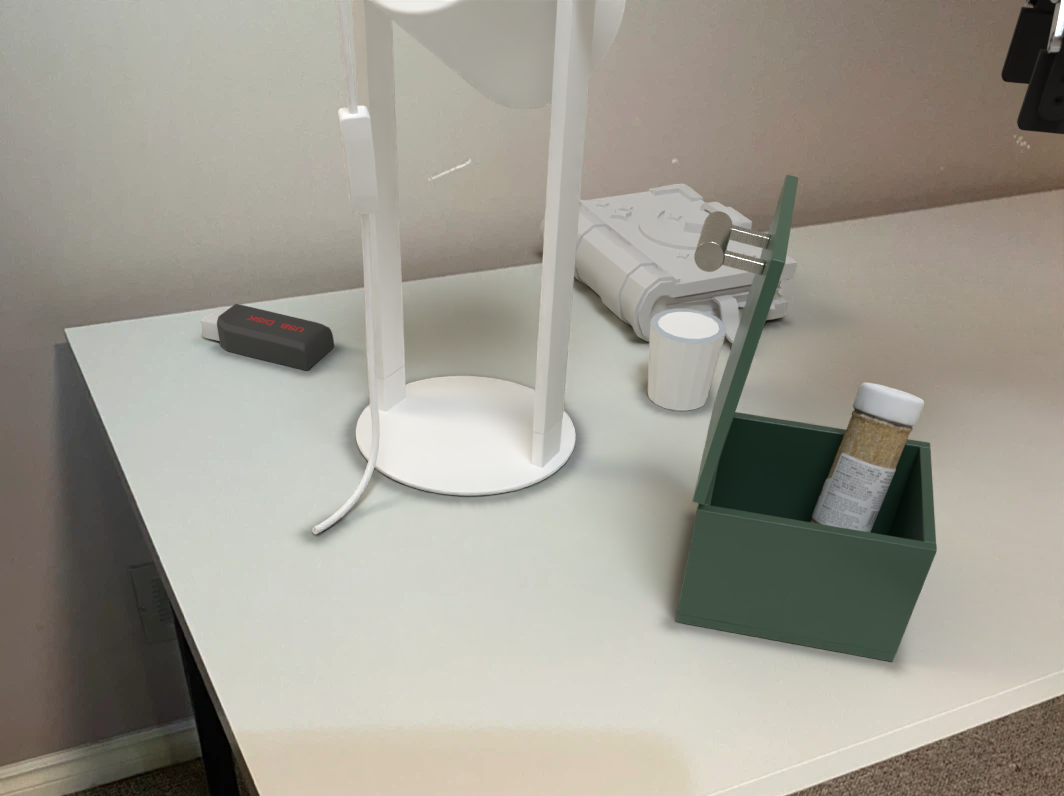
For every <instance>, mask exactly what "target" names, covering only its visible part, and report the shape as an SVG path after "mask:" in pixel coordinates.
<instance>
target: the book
mask: <svg viewBox="0 0 1064 796" xmlns="http://www.w3.org/2000/svg"><path fill="white" fill-rule="evenodd" d="M716 211H721V212H724V213H726V214H727V215H729V217H730V218H731V220H732V225H735V226H739V227H743V228H747V229H751V230H752V228H753V227H752V226H753V221H752V220H750V219H749V218H748V217H746V216H745V215H743V214H742V213H740V212H739V211H737V210H735V209H734V208H733V207H731V206H725V205H724V204H723V203H720V202H718V201H709V202H705V201H704V197H703V196H702V195H700V194H699V193H698V192H696V190H694V189H693V188H692V187H690V186H688V185H687V184H685V183H673V184H667V185H662V186H657V187H650V188H648V190H647V191H642V192H641V191H640V192H633V193H626V194H620V195H612V196H605V197H600V198H599V197H597V198H592V199H584V200H583V199H582V198H581V197H580V205H579V218H578V231H577V243H576V256H575V269H574V279H576V280H577V281H579V282H580V283H582V284H584V285H586V286H588V287H589V288H590V289H591V290H592V291H593V292H594V293H596V294H597V295H598V296H599V297H600V299H601V303H602V304H603V305H604V306H606V307H607V308H608V309H609V310H610V311H611V312H612V313H613V314H615V316H617V317H618V318H619V319H620V320H621V321H622V322H624V323H626V324H628V325H629V326H631V327H632V329H633V332H634V334H635V335H636V336H638V338H640V339H641V340H644V341H645V342H647V343H648V344H649V343H650V321H651V320H652V318H653V316H654V315H656V314H658V313H660V312H662V311H665V310H670V309H693V310H698V311H703V312H706V313H709V314H711V315H713V316H716V317H717V318H719V319H720V320H721V321H722V322H723V323H724V324H725V327H726V329H727V331H726V334H725V338H726V339H727V340H728V341H729V342H730V343H731V345H733V341H734V338H735V335H736V332H737V329H738V326H739V323H740V319H741V316H742V313H743V310H744V307H745V304H746V300H747V297H748V294H749V291H750V288H751V285H752V282H753V278H754V275H755V273H751V272H747V271H743V270H739V269H735V268H731V267H727V266H723V265H722V266H721V267H720V268H719V269H717V270H716V271H713V272H705V271H702V270H701V269H699V268H698V267H697V265H696V263H695V260H694V254H695V251H696V247H697V244H698V241H699V238H700V234H701V231H702V228H703V224H704V221H705V219H706V218H707V216H708V215H709V214H711V213H713V212H716ZM544 227H545V214H544V215H543V217H542V219H541V221H540V228H539V239H540V242H541V244H542V246H543V245H544ZM727 250H728V251H732V252H735V253H739V254H743V255H747V256H751V257H755V258H759V259H760V256H761V253H762V250H763V248H759V247H755V246H751V245H747V244H744V243H740V242H736V241H732V240H729V243H728V247H727ZM797 266H798V262H797V261H796V260H795V259H794V258H792V257H791V256H790V255H789V254H787V255H786V261H785V265H784V268H783V271H782V274H781V277H780V280H779V283H778V286H777V289H776V292H775V295H774V298H773V301H772V304H771V307H770V310H769V313H768V316H767V319H766V321H769V320H775V319H780V318H784V317H786V314H787V309H788V304H789V301H788V300H787V299H786V298H785V297H784V296H783V295H782V294H780V293H779V292H780V291H779V290H783V287H781V283H782V282H783V281H789V280H793V279H794V277H795V275H796V274H795V273H796V271H797Z"/></svg>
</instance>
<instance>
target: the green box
mask: <svg viewBox="0 0 1064 796" xmlns="http://www.w3.org/2000/svg"><path fill="white" fill-rule="evenodd" d="M846 429H847V428H846ZM846 429H845V428H839V427H833V426H827V425H819V424H814V423H807V422H803V421H801V422H800V421H794V420H788V419H782V418H775V417H770V416H764V415H763V416H762V415H757V414H751V413H743V412H738V411H735V414H734V417H733V420H732V423H731V426H730V429H729V432H728V435H727V438H726V441H725V444H724V447H723V450H722V453H721V456H720V459H719V462H718V465H717V468H716V471H715V474H714V477H713V480H712V483H711V486H710V489H709V492H708V495H707V498H706V501H705V504H704V505H702V504H698V503H697V508H696V512H695V516H694V517H695V518H694V523H693V528H692V533H691V539H690V545H689V550H688V555H687V558H686V559H687V560H686V566H685V569H684V577H683V581H682V586H681V592H680V597H679V602H678V607H677V612H676V617H675V622H676V623H680V624H686V625H690V626H695V627H702V628H707V629H713V630H718V631H723V632H728V633H734V634H740V635H745V636H750V637H756V638H761V639H766V640H772V641H778V642H782V643H783V642H784V643H788V644H795V645H798V646H799V645H800V646H805V647H811V648H817V649H820V650H821V649H822V650H826V651H833V652H838V653H843V654H848V655H854V656H860V657H864V658H871V659H876V660H880V661H885V662H886V661H887V662H892V663H893V662H894V660H895V658H896V655H897V652H898V650H899V648H900V645H901V642H902V640H903V638H904V635H905V633H906V630H907V627H908V625H909V623H910V620H911V617H912V615H913V612H914V609H915V607H916V605H917V602H918V600H919V597H920V594H921V592H922V590H923V587H924V586H925V585H924V584H925V582H926V580H927V577H928V574H929V572H930V570H931V567H932V565H933V562H934V559H935V556H936V554H937V552H938V547H937V535H936V533H937V531H936V517H935V516H936V515H935V502H934V500H935V499H934V487H933V468H932V465H933V464H932V451H931V450H932V449H931V442H928V441H921V440H915V439H909V438H908V439H907V441H906V443H905V446H904V448H903V451H902V453H901V456H900V459H899V461H898V464H897V466H896V471H895V473H894V476H893V478H892V481H891V483H890V485H889V488H888V490H887V493H886V495H885V498H884V500H883V503H882V505H881V508H880V510H879V512H878V515H877V517H876V520H875V522H874V525H873V527H872V530H871V532H864V531H858V530H852V529H846V528H840V527H834V526H829V525H823V524H817V523H811V519H812V514H813V512H814V509H815V506H816V504H817V501H818V498H819V496H820V493H821V491H822V488H823V486H824V483H825V481H826V479H827V477H828V475H829V472H830V469H831V467H832V464H833V462H834V459H835V457H836V454H837V452H838V449H839V447H840V444H841V441H842V439H843V436H844V434H845V431H846Z"/></svg>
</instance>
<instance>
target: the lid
mask: <svg viewBox="0 0 1064 796" xmlns="http://www.w3.org/2000/svg"><path fill="white" fill-rule="evenodd" d="M798 183H799V177H798V176H795V175H790V174H786V175H785V177H784V181H783V184H782V187H781V191H780V193H779V196H778V200H777V203H776V206H775V209H774V213H773V215H772V219H771V223H770V225H769V228H768V231H767V233H766V232H762V231H759V230H755V229H752V228H751V229H747V228H743V227H739V226H735V225H732V220H731V218H730V217H729V215H727V214H726V213H724V212H721V211H716V212H713V213H711V214H709V215H708V216H707V218H706V219H705V221H704V224H703V228H702V231H701V234H700V238H699V241H698V244H697V247H696V251H695V254H694V260H695V263H696V265H697V267H698V268H699V269H701V270H702V271H705V272H713V271H716V270H717V269H719V268H720V267H721V266H722V265H723V266H727V267H731V268H735V269H739V270H743V271H747V272H751V273H755V275H754V278H753V282H752V285H751V288H750V291H749V294H748V297H747V300H746V304H745V307H744V310H743V313H742V316H741V319H740V321H739V326H738V329H737V332H736V335H735V338H734V341H733V344H731V348H730V351H729V355H728V358H727V361H726V363H725V367H724V371H723V374H722V376H721V380H720V382H719V386H718V389H717V392H716V396H715V398H714V401H713V405H712V411H711V415H710V419H709V425H708V429H707V434H706V439H705V443H704V448H703V453H702V456H701V461H700V464H699V465H700V466H699V469H698V475H697V479H696V483H695V488H694V494H693V496H692V497H693V498H692V503H694V504H697V505H698V504H702V505H704V504H705V501H706V498H707V495H708V492H709V489H710V486H711V483H712V480H713V477H714V474H715V471H716V468H717V465H718V462H719V459H720V456H721V453H722V450H723V447H724V444H725V441H726V438H727V435H728V432H729V429H730V426H731V423H732V420H733V417H734V414H735V412H737V409H738V406H739V403H740V399H741V395H742V393H743V391H744V388H745V385H746V381H747V380H748V379H747V378H748V375H749V373H750V369H751V367H752V365H753V364H752V363H753V360H754V358H755V354H756V353H757V348H758V346H759V342H760V340H761V337H762V334H763V331H764V327H765V326H766V325H765V324H766V321H767V320H766V319H767V316H768V313H769V310H770V307H771V304H772V301H773V298H774V295H775V292H776V289H777V286H778V283H779V280H780V277H781V274H782V271H783V268H784V265H785V261H786V255H788V254H787V253H788V248H789V241H790V237H791V236H790V235H791V229H792V222H793V215H794V209H795V203H796V196H797V190H798ZM729 240H732V241H736V242H740V243H744V244H747V245H751V246H755V247H759V248H763V250H762V253H761V256H760V259H759V258H755V257H751V256H747V255H743V254H739V253H735V252H732V251H728V250H727V247H728V243H729Z"/></svg>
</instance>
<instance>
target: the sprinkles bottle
mask: <svg viewBox="0 0 1064 796" xmlns="http://www.w3.org/2000/svg"><path fill="white" fill-rule="evenodd" d="M924 405H925V402H924V399H922V398H920V397H918V396H916V395H914V394H912V393H909V392H906V391H903V390H900V389H897V388H893V387H890V386H887V385H883V384H879V383H873V382H867V381H866V382H862V383H861V385H860V386H859V388H858V391H857V393H856V395H855V398H854V401H853V403H852V408H853V410H852V412H851V417H850V418H849V421H848V424H847V426H846V431H845V434H844V436H843V439H842V441H841V444H840V447H839V449H838V452H837V454H836V457H835V459H834V462H833V464H832V467H831V469H830V472H829V475H828V477H827V479H826V481H825V483H824V486H823V488H822V491H821V493H820V496H819V498H818V501H817V504H816V506H815V509H814V512H813V514H812V519H811V523H817V524H823V525H829V526H834V527H840V528H846V529H852V530H858V531H864V532H871V530H872V527H873V525H874V522H875V520H876V517H877V515H878V512H879V510H880V508H881V505H882V503H883V500H884V498H885V495H886V493H887V490H888V488H889V485H890V483H891V481H892V478H893V476H894V473H895V471H896V466H897V464H898V461H899V459H900V456H901V453H902V451H903V448H904V446H905V443H906V441H907V439H909V436H910V434H911V433H912V432H913V430H914V429H913V427H915V426H917V423H918V420H919V418H920V416H921V414H922V410H923V408H924Z"/></svg>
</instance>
